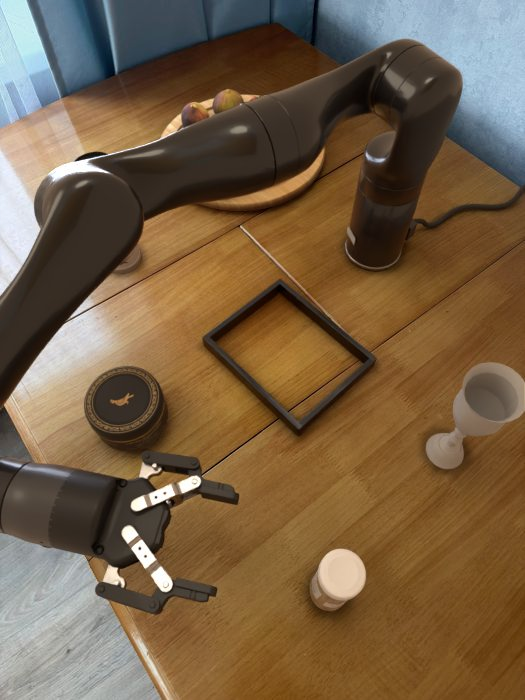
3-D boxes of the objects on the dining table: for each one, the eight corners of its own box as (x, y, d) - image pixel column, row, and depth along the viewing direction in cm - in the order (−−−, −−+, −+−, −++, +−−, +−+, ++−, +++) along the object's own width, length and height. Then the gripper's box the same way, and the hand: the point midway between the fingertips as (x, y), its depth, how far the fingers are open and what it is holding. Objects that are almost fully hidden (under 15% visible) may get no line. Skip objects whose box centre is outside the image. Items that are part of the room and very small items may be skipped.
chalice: (436, 416, 74) (482, 350, 58) (480, 446, 72) (540, 385, 56) (408, 455, 71) (449, 397, 55) (453, 487, 69) (509, 436, 53)
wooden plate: (269, 240, 91) (270, 204, 83) (124, 173, 99) (113, 135, 92) (353, 137, 104) (360, 98, 97) (219, 86, 113) (216, 47, 106)
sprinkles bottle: (337, 619, 61) (354, 608, 49) (302, 597, 62) (311, 582, 50) (353, 581, 63) (374, 562, 51) (319, 561, 64) (332, 538, 52)
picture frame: (279, 287, 85) (280, 278, 83) (374, 366, 78) (377, 358, 76) (203, 345, 80) (202, 336, 78) (297, 436, 72) (298, 429, 70)
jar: (185, 422, 73) (177, 398, 67) (127, 472, 70) (113, 451, 63) (141, 377, 77) (130, 350, 70) (83, 421, 73) (66, 397, 67)
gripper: (18, 579, 44) (204, 624, 43) (82, 425, 52) (244, 458, 50) (48, 590, 51) (211, 629, 49) (101, 452, 58) (245, 482, 56)
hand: (227, 543), depth 50 cm, fingers open, 8 cm apart
